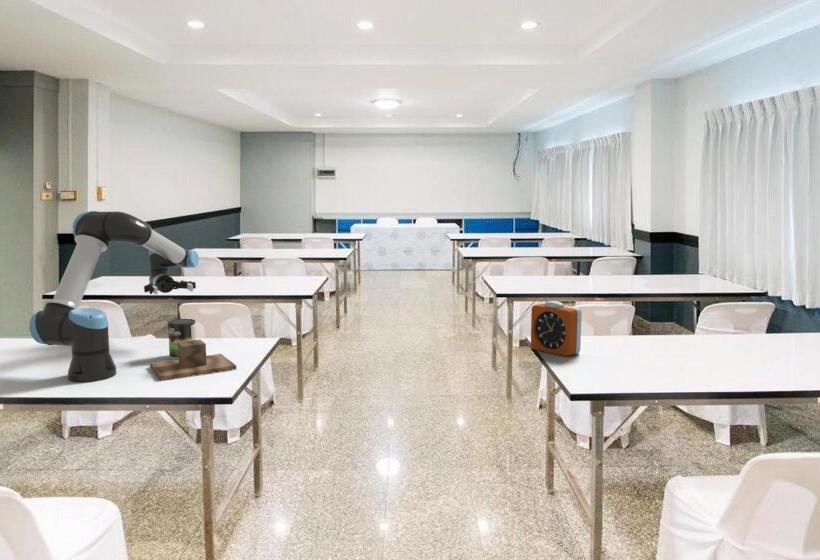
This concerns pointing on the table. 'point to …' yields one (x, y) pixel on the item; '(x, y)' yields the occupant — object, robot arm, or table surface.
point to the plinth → (180, 372)
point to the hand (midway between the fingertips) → (174, 289)
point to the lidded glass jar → (180, 334)
